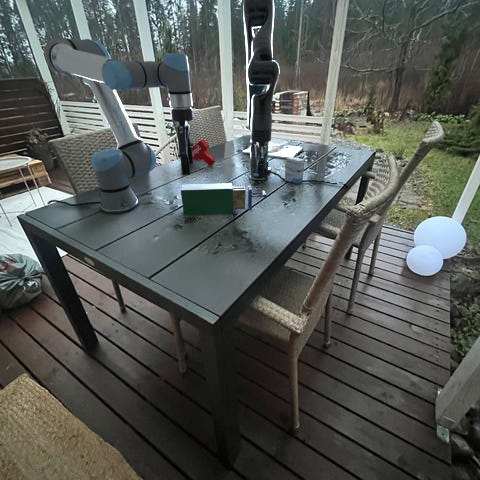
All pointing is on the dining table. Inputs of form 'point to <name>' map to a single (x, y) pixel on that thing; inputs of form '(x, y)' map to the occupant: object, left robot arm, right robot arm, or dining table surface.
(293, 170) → the ink box
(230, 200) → the cabinet
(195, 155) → the toy gun
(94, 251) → the dining table surface
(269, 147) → the relief map
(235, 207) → the drawer
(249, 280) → the dining table surface
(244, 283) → the dining table surface
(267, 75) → the right robot arm
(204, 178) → the dining table surface
